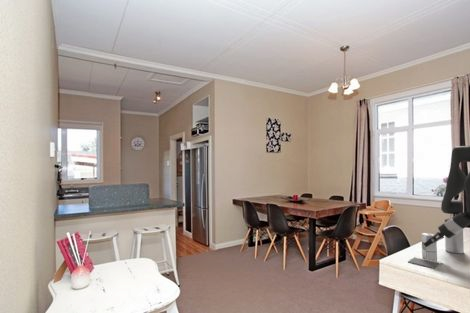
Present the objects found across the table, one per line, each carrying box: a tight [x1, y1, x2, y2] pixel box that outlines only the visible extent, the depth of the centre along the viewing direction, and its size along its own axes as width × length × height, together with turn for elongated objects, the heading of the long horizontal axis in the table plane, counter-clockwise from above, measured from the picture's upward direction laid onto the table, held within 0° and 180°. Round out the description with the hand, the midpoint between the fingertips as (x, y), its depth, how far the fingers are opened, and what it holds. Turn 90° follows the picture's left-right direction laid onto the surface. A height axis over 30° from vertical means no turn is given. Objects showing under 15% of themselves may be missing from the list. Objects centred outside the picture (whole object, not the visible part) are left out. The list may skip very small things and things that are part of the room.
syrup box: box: [421, 232, 438, 262], centre depth 160 cm, size 6×6×14 cm
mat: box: [407, 256, 441, 269], centre depth 152 cm, size 12×12×1 cm
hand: (427, 244), depth 161 cm, fingers open, 8 cm apart
